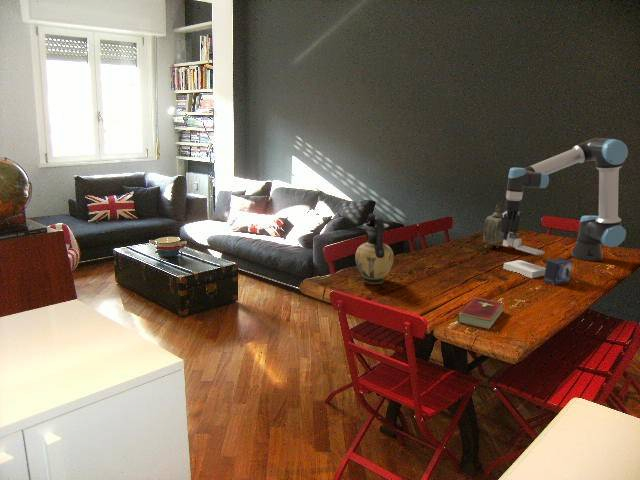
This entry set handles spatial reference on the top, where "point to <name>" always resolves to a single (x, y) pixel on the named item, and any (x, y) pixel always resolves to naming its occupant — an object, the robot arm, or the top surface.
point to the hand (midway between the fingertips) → (507, 245)
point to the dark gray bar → (518, 244)
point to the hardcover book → (481, 312)
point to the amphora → (374, 252)
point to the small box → (558, 271)
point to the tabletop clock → (493, 229)
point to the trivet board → (525, 268)
